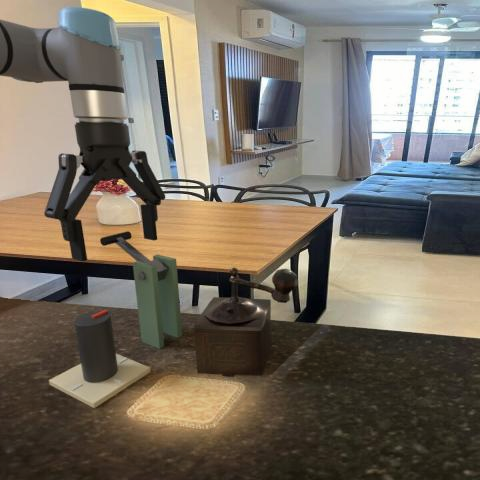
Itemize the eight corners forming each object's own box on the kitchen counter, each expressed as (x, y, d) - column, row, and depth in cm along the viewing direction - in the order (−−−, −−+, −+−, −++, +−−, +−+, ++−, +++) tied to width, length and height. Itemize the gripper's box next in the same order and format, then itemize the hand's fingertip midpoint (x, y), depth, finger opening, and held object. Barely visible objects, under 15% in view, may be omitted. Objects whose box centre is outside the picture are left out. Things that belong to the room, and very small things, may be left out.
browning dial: (96, 386, 53) (87, 326, 50) (76, 376, 55) (66, 318, 52) (124, 369, 57) (117, 313, 54) (105, 361, 59) (97, 306, 56)
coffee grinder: (193, 383, 57) (184, 272, 52) (214, 343, 68) (208, 248, 63) (296, 387, 57) (297, 275, 52) (301, 347, 68) (302, 251, 63)
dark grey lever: (98, 245, 65) (101, 233, 63) (125, 238, 69) (127, 227, 68) (147, 286, 61) (150, 274, 60) (171, 276, 66) (174, 265, 65)
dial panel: (50, 392, 55) (48, 379, 54) (108, 360, 62) (107, 348, 62) (95, 416, 50) (93, 402, 50) (151, 378, 58) (150, 366, 58)
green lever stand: (121, 349, 65) (109, 263, 61) (163, 326, 73) (155, 248, 69) (162, 366, 61) (153, 274, 57) (202, 340, 69) (197, 258, 65)
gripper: (150, 122, 73) (160, 230, 79) (-4, 118, 51) (26, 265, 57) (179, 123, 70) (187, 235, 76) (28, 118, 48) (56, 275, 54)
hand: (118, 248), depth 66 cm, fingers open, 13 cm apart
